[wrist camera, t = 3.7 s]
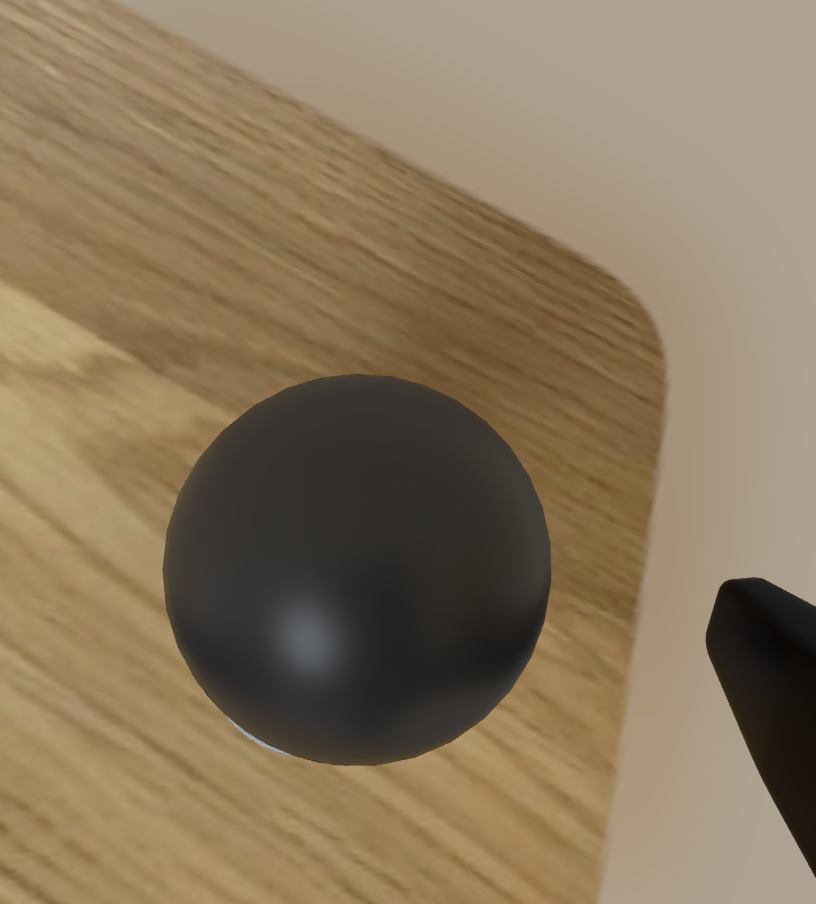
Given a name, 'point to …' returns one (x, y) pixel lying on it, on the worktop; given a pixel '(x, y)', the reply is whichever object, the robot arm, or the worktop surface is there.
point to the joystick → (357, 570)
